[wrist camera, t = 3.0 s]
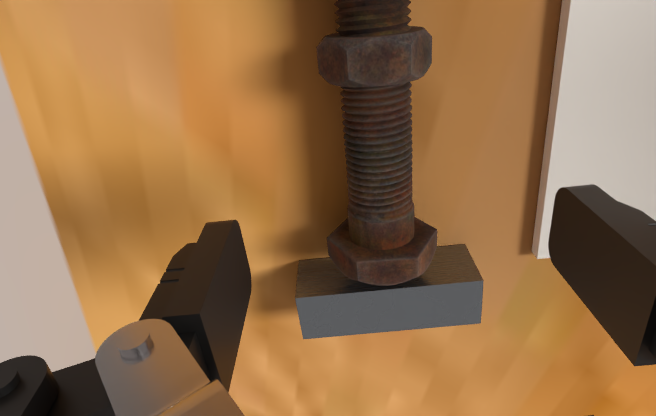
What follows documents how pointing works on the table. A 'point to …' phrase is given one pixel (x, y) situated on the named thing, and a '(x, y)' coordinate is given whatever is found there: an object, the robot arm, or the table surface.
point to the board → (601, 108)
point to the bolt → (378, 140)
